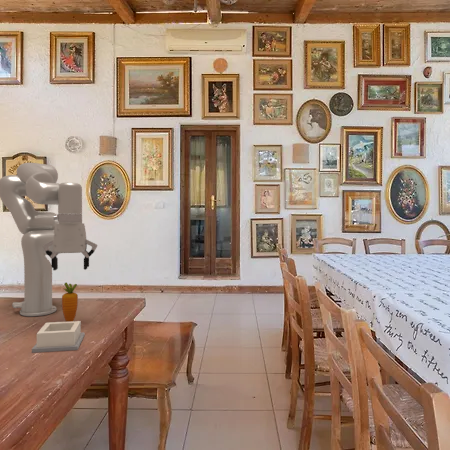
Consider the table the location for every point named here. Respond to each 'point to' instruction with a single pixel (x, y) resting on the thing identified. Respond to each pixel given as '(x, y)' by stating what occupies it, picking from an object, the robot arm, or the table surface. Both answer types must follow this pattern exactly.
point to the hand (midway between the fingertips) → (70, 269)
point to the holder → (59, 337)
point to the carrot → (69, 303)
